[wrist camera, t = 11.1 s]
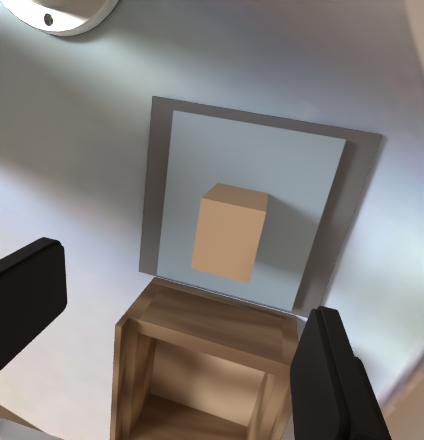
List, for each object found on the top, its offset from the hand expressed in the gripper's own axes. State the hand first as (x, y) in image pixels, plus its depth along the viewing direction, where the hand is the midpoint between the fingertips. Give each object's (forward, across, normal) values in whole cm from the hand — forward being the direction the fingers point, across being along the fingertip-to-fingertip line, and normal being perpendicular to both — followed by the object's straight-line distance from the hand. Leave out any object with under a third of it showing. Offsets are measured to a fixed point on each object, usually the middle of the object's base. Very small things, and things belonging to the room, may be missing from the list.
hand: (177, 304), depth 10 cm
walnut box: (+14, -1, +18) cm, 22 cm away
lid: (+14, -1, +1) cm, 14 cm away
